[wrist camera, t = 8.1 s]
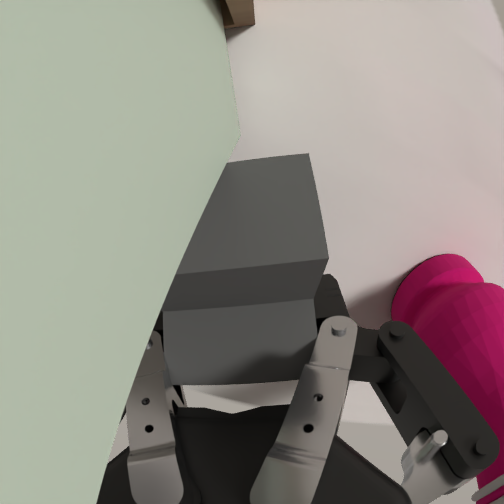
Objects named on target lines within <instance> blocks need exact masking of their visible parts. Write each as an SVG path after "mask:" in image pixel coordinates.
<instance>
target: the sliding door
mask: <svg viewBox="0 0 504 504" xmlns="http://www.w3.org/2000/svg"><path fill="white" fill-rule="evenodd" d="M240 136H241V134H240V128H239V121H238V114H237V108H236V101H235V95H234V89H233V82H232V76H231V69H230V63H229V57H228V50H227V44H226V38H225V31H224V25H223V19H222V12H221V6H220V0H0V504H96V503H97V499H98V495H99V491H100V487H101V484H102V480H103V476H104V473H105V469H106V466H107V462H108V458H109V455H110V452H111V448H112V445H113V442H114V439H115V436H116V432H117V429H118V426H119V423H120V420H121V417H122V414H123V411H124V408H125V405H126V402H127V399H128V396H129V393H130V390H131V387H132V384H133V382H134V379H135V376H136V373H137V370H138V368H139V365H140V362H141V359H142V357H143V354H144V351H145V349H146V346H147V343H148V341H149V338H150V336H151V333H152V330H153V328H154V325H155V323H156V320H157V318H158V315H159V313H160V310H161V308H162V305H163V303H164V300H165V298H166V295H167V293H168V291H169V288H170V286H171V283H172V281H173V279H174V276H175V274H176V272H177V269H178V267H179V265H180V262H181V260H182V258H183V255H184V253H185V251H186V249H187V246H188V244H189V242H190V240H191V237H192V235H193V233H194V231H195V228H196V226H197V224H198V222H199V220H200V218H201V215H202V213H203V211H204V209H205V207H206V205H207V203H208V200H209V198H210V196H211V194H212V192H213V190H214V188H215V186H216V184H217V182H218V180H219V178H220V176H221V174H222V171H223V169H224V167H225V165H226V163H227V161H228V159H229V157H230V155H231V153H232V152H233V150H234V148H235V146H236V144H237V142H238V140H239V138H240Z"/></svg>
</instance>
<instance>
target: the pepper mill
mask: <svg viewBox="0 0 504 504" xmlns="http://www.w3.org/2000/svg"><path fill="white" fill-rule="evenodd" d="M391 316H392V320H393V321H401V322H404V323H406V324H408V325H409V326H410V327H411V328H412V329H413V330H414V331H415V332H416V333H417V334H418V336H419V337H420V338H421V339H422V340H423V342H424V343H425V344H426V345H427V346H428V347H429V349H430V350H431V351H432V352H433V353H434V355H435V356H436V357H437V358H438V360H439V361H440V362H441V363H442V364H443V366H444V367H445V368H446V369H447V371H448V372H449V373H450V374H451V376H452V377H453V378H454V379H455V381H456V382H457V383H458V385H459V386H460V387H461V388H462V390H463V391H464V392H465V394H466V395H467V396H468V397H469V399H470V400H471V401H472V403H473V404H474V405H475V407H476V408H477V409H478V411H479V412H480V414H481V415H482V416H483V418H484V419H485V420H486V422H487V423H488V425H489V426H490V427H491V429H492V430H493V432H494V433H495V434H496V436H497V438H498V440H499V444H500V450H499V454H498V456H497V458H496V460H495V461H494V462H493V463H492V464H491V465H490V466H489V467H488V468H486V469H485V470H484V471H482V472H481V473H480V474H478V475H477V476H476V477H477V482H478V488H479V490H478V491H477V492H475V493H474V494H473V495H472V498H471V499H472V501H476V504H504V289H503V288H502V287H500V286H498V285H496V284H493V283H484V280H483V278H482V276H481V275H480V273H479V272H478V271H477V270H476V269H475V268H474V267H473V266H472V265H471V264H470V263H469V262H468V261H467V260H466V259H465V258H463V257H462V256H459V255H456V254H445V255H438V256H435V257H433V258H431V259H429V260H427V261H425V262H423V263H422V264H420V265H419V266H418V267H416V268H415V269H414V270H413V271H412V272H411V273H410V274H409V275H408V276H407V277H406V278H405V280H404V281H403V282H402V283H401V285H400V287H399V288H398V290H397V292H396V295H395V297H394V299H393V302H392V309H391Z"/></svg>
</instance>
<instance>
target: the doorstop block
mask: <svg viewBox="0 0 504 504" xmlns="http://www.w3.org/2000/svg"><path fill="white" fill-rule="evenodd" d="M328 259H329V256H328V250H327V244H326V238H325V232H324V227H323V221H322V216H321V210H320V205H319V200H318V195H317V190H316V185H315V181H314V176H313V171H312V167H311V162H310V158H309V153H308V154H297V155H287V156H277V157H268V158H260V159H252V160H244V161H237V162H230V163H226V165H225V167H224V169H223V171H222V174H221V176H220V178H219V180H218V182H217V184H216V186H215V188H214V190H213V192H212V194H211V196H210V198H209V200H208V203H207V205H206V207H205V209H204V211H203V213H202V215H201V218H200V220H199V222H198V224H197V226H196V228H195V231H194V233H193V235H192V237H191V240H190V242H189V244H188V246H187V249H186V251H185V253H184V255H183V258H182V260H181V262H180V265H179V267H178V269H177V272H176V274H175V276H174V279H173V281H172V283H171V286H170V288H169V291H168V293H167V295H166V298H165V300H164V303H163V305H162V308H161V310H160V311H163V340H164V355H165V358H166V361H167V364H168V368H169V374H170V379H171V382H172V385H229V384H250V383H265V382H278V381H289V380H298V379H300V377H301V374H302V371H303V368H304V366H305V364H306V363H308V364H309V362H310V359H311V356H312V353H313V350H314V347H315V343H316V340H317V337H318V335H317V326H316V317H315V308H314V300H313V298H314V296H315V293H316V291H317V288H318V286H319V283H320V280H321V278H322V275H323V273H324V270H325V267H326V265H327V262H328Z"/></svg>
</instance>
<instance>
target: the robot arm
mask: <svg viewBox="0 0 504 504" xmlns="http://www.w3.org/2000/svg"><path fill="white" fill-rule="evenodd" d="M313 300H314V308H315V317H316V326H317V335H318V337H317V340H316V343H315V347H314V350H313V353H312V356H311V359H310V362H309V364H308V363H306V364H305V366H304V368H303V371H302V374H301V377H300V379H299V382H298V385H297V388H296V390H295V393H294V396H293V398H292V401H291V404H287V405H275V406H262V407H258V408H254V409H251V410H247V411H243V412H239V413H234V414H231V413H226V412H221V411H216V410H212V409H208V408H192V407H190V408H189V407H187V403H186V399H185V395H184V391H183V386H182V385H172V382H171V379H170V374H169V368H168V364H167V361H166V358H165V355H164V340H163V311H160V313H159V315H158V318H157V320H156V323H155V325H154V328H153V330H152V333H151V336H150V338H149V341H148V343H147V346H146V349H145V351H144V354H143V357H142V359H141V362H140V365H139V368H138V370H137V373H136V376H135V379H134V382H133V384H132V387H131V390H130V393H129V396H128V399H127V402H126V405H125V408H124V411H123V414H122V417H121V420H122V419H123V417H124V415H125V414H126V416H127V428H128V438H129V446H128V447H127V448H126V449H125V450H124V451H122V452H121V453H120V454H119V455H118V456H116V457H115V458H114V459H113V460H112V461H110V462H109V463H108V464H107V466H106V469H105V473H104V476H103V480H102V484H101V487H100V491H99V495H98V499H97V503H96V504H429V503H430V502H432V501H434V500H435V499H437V498H438V497H440V496H441V495H446V494H450V493H452V492H454V491H455V490H457V489H458V488H460V487H461V486H463V485H464V484H466V483H467V482H468V481H470V480H471V479H473V478H474V477H476V476H477V475H478V474H480V473H481V472H482V471H484V470H485V469H486V468H488V467H489V466H490V465H491V464H492V463H493V462H494V461H495V460H496V458H497V456H498V454H499V450H500V444H499V440H498V438H497V436H496V434H495V433H494V432H493V430H492V429H491V427H490V426H489V425H488V423H487V422H486V420H485V419H484V418H483V416H482V415H481V414H480V412H479V411H478V409H477V408H476V407H475V405H474V404H473V403H472V401H471V400H470V399H469V397H468V396H467V395H466V394H465V392H464V391H463V390H462V388H461V387H460V386H459V385H458V383H457V382H456V381H455V379H454V378H453V377H452V376H451V374H450V373H449V372H448V371H447V369H446V368H445V367H444V366H443V364H442V363H441V362H440V361H439V360H438V358H437V357H436V356H435V355H434V353H433V352H432V351H431V350H430V349H429V347H428V346H427V345H426V344H425V343H424V342H423V340H422V339H421V338H420V337H419V336H418V334H417V333H416V332H415V331H414V330H413V329H412V328H411V327H410V326H409V325H408V324H406V323H404V322H401V321H389V322H386V323H385V324H383V325H382V326H381V327H380V329H379V330H371V329H364V328H361V327H359V326H357V324H356V323H355V321H353V320H352V319H351V318H350V317H349V314H348V311H347V308H346V305H345V302H344V299H343V296H342V294H341V291H340V289H339V285H338V282H337V280H336V279H335V278H334V277H333V276H332V275H331V274H325V275H322V278H321V280H320V283H319V286H318V288H317V291H316V293H315V296H314V298H313ZM350 380H355V381H364V382H370V384H371V386H372V387H373V389H374V391H375V392H376V394H377V396H378V397H379V399H380V401H381V402H382V404H383V406H384V407H385V409H386V411H387V412H388V414H389V416H390V417H391V419H392V421H393V422H394V424H395V426H396V428H397V429H398V431H399V432H400V434H401V436H402V437H403V439H404V441H405V443H406V445H407V446H408V448H407V449H406V451H405V452H404V454H403V456H402V460H401V464H402V468H403V471H404V479H403V482H402V484H401V486H400V485H399V484H398V483H396V482H395V481H393V480H392V479H391V478H390V477H388V476H387V475H386V474H384V473H383V472H382V471H380V470H379V469H378V468H377V467H375V466H374V465H373V464H372V463H370V462H369V461H368V460H367V459H365V458H364V457H363V456H362V455H360V454H359V453H358V452H357V451H355V450H354V449H353V448H352V447H351V446H349V445H348V444H347V443H346V442H344V441H343V440H342V439H341V438H340V437H338V436H337V432H338V428H339V424H340V420H341V416H342V412H343V408H344V403H345V399H346V395H347V390H348V386H349V381H350ZM121 420H120V422H121ZM119 424H120V423H119Z"/></svg>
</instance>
